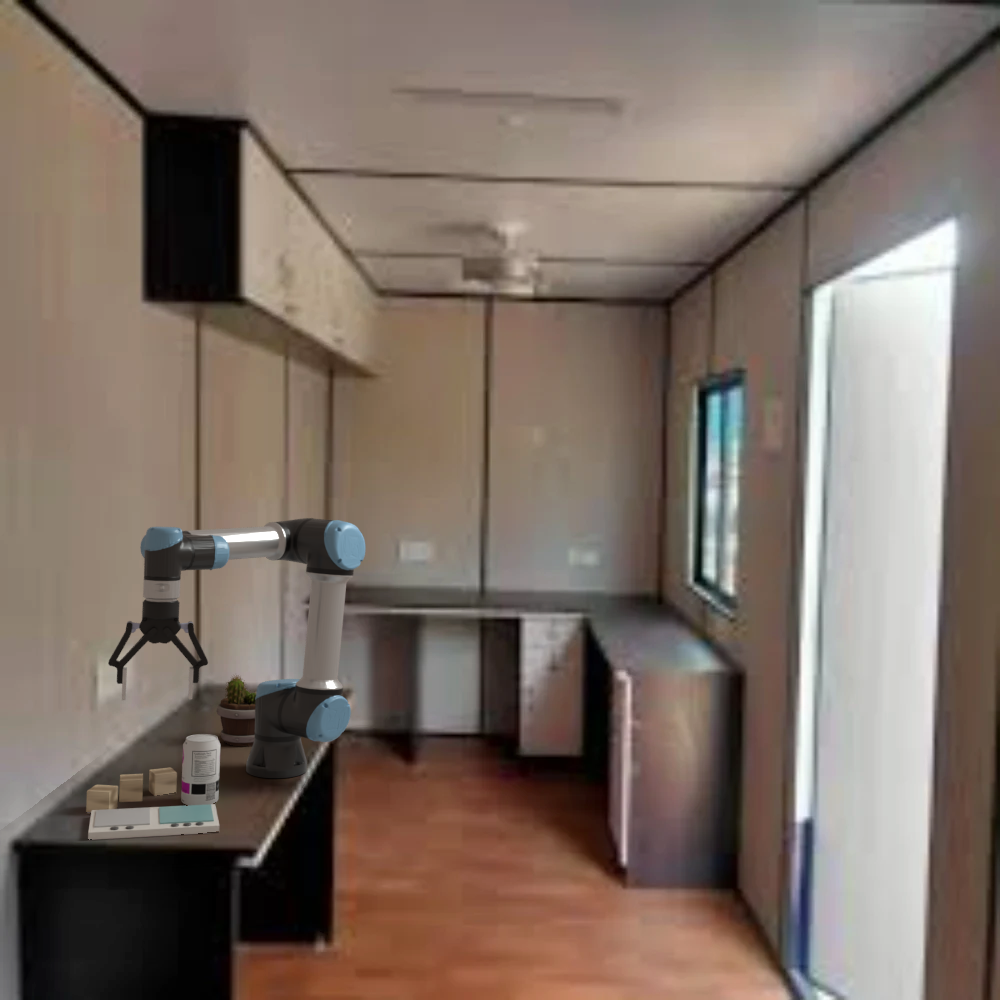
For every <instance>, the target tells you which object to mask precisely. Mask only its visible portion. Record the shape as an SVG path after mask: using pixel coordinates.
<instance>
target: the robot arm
mask: <svg viewBox="0 0 1000 1000" xmlns="http://www.w3.org/2000/svg"><path fill="white" fill-rule="evenodd" d="M140 554H141V556H142V557H143V559H144V561H143V562H144V563H143V566H144V568H143V583H142V584H143V587H142V589H143V590H142V591H143V592H142V597H143V598H144V600H143V601H142V611H141V614H142V615H141V622H133V621H132V620H128V621H127V622H126V627H125V631H124V633H123V635H122V636H121V638H120V641H119V642H118V643H117V645H116V647H115V649H114V650H113V653H112V654H111V656H110V658H109V660H108V661H107V662H108V666H110V667H114V668H116V683H117V684H118V685H119V684H120V685H121V684H122V685H121V686H122V688H121V701H126V700H127V699H126V698H127V678H128V677H127V674H128V667H127V666H126V665H127V664H128V663H129V662H130V661H131V660H132V658H134V656H136V654H137V653H138V652H139V651H140V650H141V649H142V648H143V647H144V646H145V645H146V644H147V643H151V644H169V643H170V642H172V644H173V645H174V646H175V647H176V648H177V649H178V651H179V652H180V653H181V654H182V655H183V656H184V658H185V659H186V660H187V661H188V662H189V663H190V664H191V666H189V669H188V670H189V672H188V675H189V677H188V695H187V697H188V700H193V693H194V692H193V691H194V684H198V683H199V679H200V678H199V677H200V676H199V675H200V668H201V667H204V666H207V665H208V664H209V661H208V658H207V656H206V654H205V652H204V649H203V648H202V645H201V644H200V641H199V639H198V638H197V636H196V635H197V634H196V633H195V626H194V622H193V621H192V620H190V621H188V622H182V623H181V622H180V601H179V600H177V599H179V598H180V597H181V595H180V594H181V576H182V575H181V574H182V571H183V572H184V571H198V570H199V571H200V570H201V571H203V570H209V571H212V570H215V569H216V570H217V569H222V568H223V567H225V566H226V565H227V563H228V561H229V560H242V559H243V560H244V559H258V558H266V559H268V560H270V561H288V562H293V563H300V564H304V565H306V569H305V573H306V575H307V576H308V578H310V580H311V583H310V592H309V593H310V594H309V605H308V615H307V627H306V636H305V647H304V648H305V649H304V657H303V658H304V659H303V669H302V677H301V678H284V679H283V678H282V679H273V680H265V681H262V682H260V683H259V684H258V685H257V686H256V691H255V693H256V697H255V738H254V743H253V746H251V749H250V751H249V754H248V757H247V760H246V768H245V771H246V773H247V774H249V775H251V776H253V777H257V778H258V777H259V778H264V779H287V778H294V777H298V776H301V775H303V774H305V773H306V772H307V770H308V769H307V768H308V760H307V757H306V753H305V749H304V746H303V743H302V738H305V739H309V740H311V741H313V742H321V743H328V742H332V741H335V740H336V739H338V738H339V737H341V735H342V733H344V731H345V730H346V729H347V727H348V726H349V722H350V718H351V714H352V711H351V710H352V709H351V704H349V701H348V700H347V698H345V697H344V695H343V693H344V692H343V691H344V686H343V684H342V683H341V682H340V681H339V679H338V677H339V667H340V657H341V646H342V634H343V624H344V613H345V601H346V589H347V583H348V581H350V580H351V579H352V578H354V570H355V569H357V568H359V567H360V565H361V564H362V563H361V562H363V561H364V559H365V556H366V541H365V537H364V536H363V533H362V532H361V531H360V529H359V527H358V526H357V525H355V524H354V523H351V522H347V521H344V520H339V519H337V520H335V519H334V520H333V519H324V518H323V519H321V518H313V517H311V518H310V517H304V518H296V519H289V520H281V521H271V522H267V523H265V525H264V526H251V527H250V526H249V527H248V526H247V527H233V528H232V527H231V528H230V527H229V528H211V529H209V528H208V529H192V530H190V529H189V530H182V528H180V527H175V526H151V527H149V528H147V530H146V533H145V535H144V536H143V537H142V538H141V541H140ZM138 629H139V630H140V632H141V634H143V635H141V637H140V639H139V640H138V641H137V642H136V643H134V644H133V646H132V647H131V648H130V649H129V650H128V651H127V653H126V654H125V655H124V656H123V657H121V659H120V660H118V658H119V657H120V654H121V653H122V651H123V649H124V648H125V646H126V644H127V642H128V640H129V638H130V637H131V634H134V633H135V632H136V631H137V630H138ZM181 629H182V630H183V631H184V633H185V634H188V637H189V638H190V641H191V644H192V645H193V647H194V649H195V652H196V653H197V655H198V657H199V660H198V659H196V658H195V656H194V655H193V654H192V652H190V650H189V649H188V648H187V646H186V645H184V643H183V642H182V641H181V640H180V639H179V636H177V634H179V632H180V630H181Z"/></svg>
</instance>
